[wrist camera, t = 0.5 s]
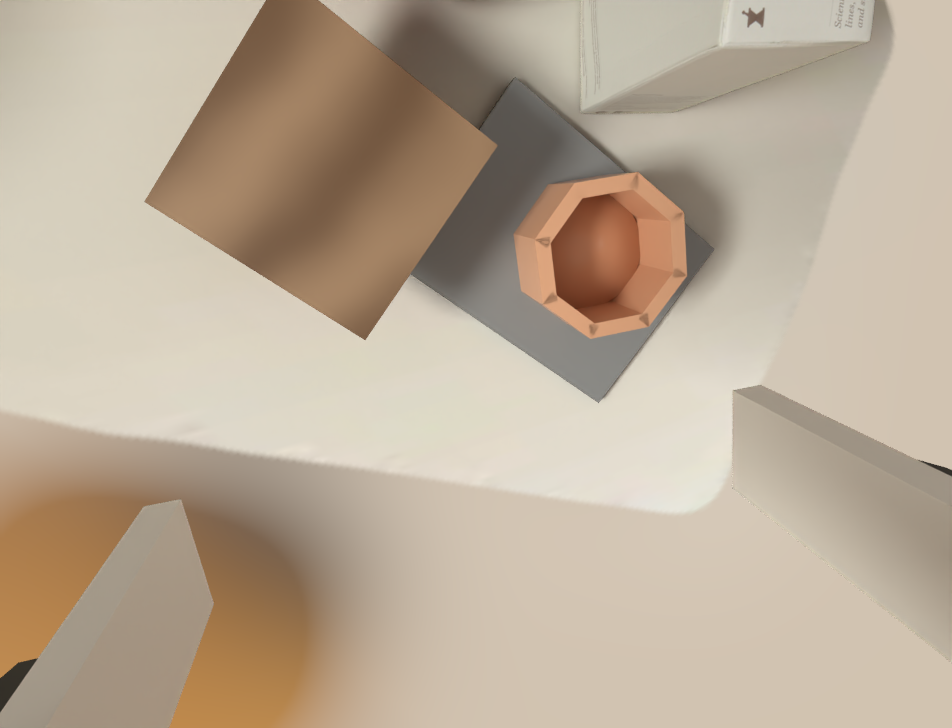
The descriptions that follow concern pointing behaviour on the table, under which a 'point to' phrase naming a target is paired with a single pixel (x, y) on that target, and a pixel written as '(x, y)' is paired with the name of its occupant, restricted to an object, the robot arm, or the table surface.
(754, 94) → the table surface
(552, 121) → the placemat
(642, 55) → the skincare box
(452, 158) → the board
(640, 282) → the bowl
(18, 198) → the table surface
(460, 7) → the table surface
